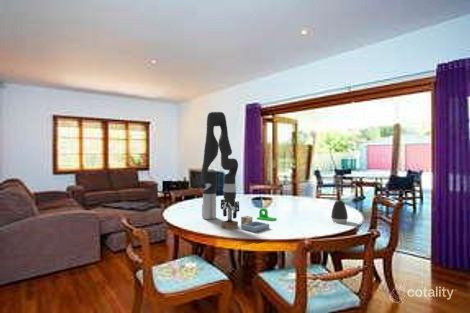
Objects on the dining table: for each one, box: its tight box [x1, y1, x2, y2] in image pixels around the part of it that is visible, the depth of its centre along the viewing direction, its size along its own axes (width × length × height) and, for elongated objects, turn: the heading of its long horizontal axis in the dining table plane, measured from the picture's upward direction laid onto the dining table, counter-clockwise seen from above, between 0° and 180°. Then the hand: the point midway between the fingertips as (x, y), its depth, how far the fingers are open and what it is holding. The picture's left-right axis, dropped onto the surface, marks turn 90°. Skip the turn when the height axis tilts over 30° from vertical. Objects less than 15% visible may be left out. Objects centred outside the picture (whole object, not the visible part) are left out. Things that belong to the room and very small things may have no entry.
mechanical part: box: [256, 207, 277, 222], centre depth 202 cm, size 12×6×8 cm, turn 60°
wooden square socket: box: [221, 219, 239, 231], centre depth 180 cm, size 7×7×4 cm
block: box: [240, 215, 253, 226], centre depth 185 cm, size 5×5×6 cm
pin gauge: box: [227, 207, 233, 223], centre depth 180 cm, size 3×3×12 cm
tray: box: [240, 221, 270, 234], centre depth 177 cm, size 11×13×3 cm
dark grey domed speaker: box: [330, 199, 349, 224], centre depth 194 cm, size 10×10×15 cm
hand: (229, 217), depth 180 cm, fingers open, 8 cm apart
